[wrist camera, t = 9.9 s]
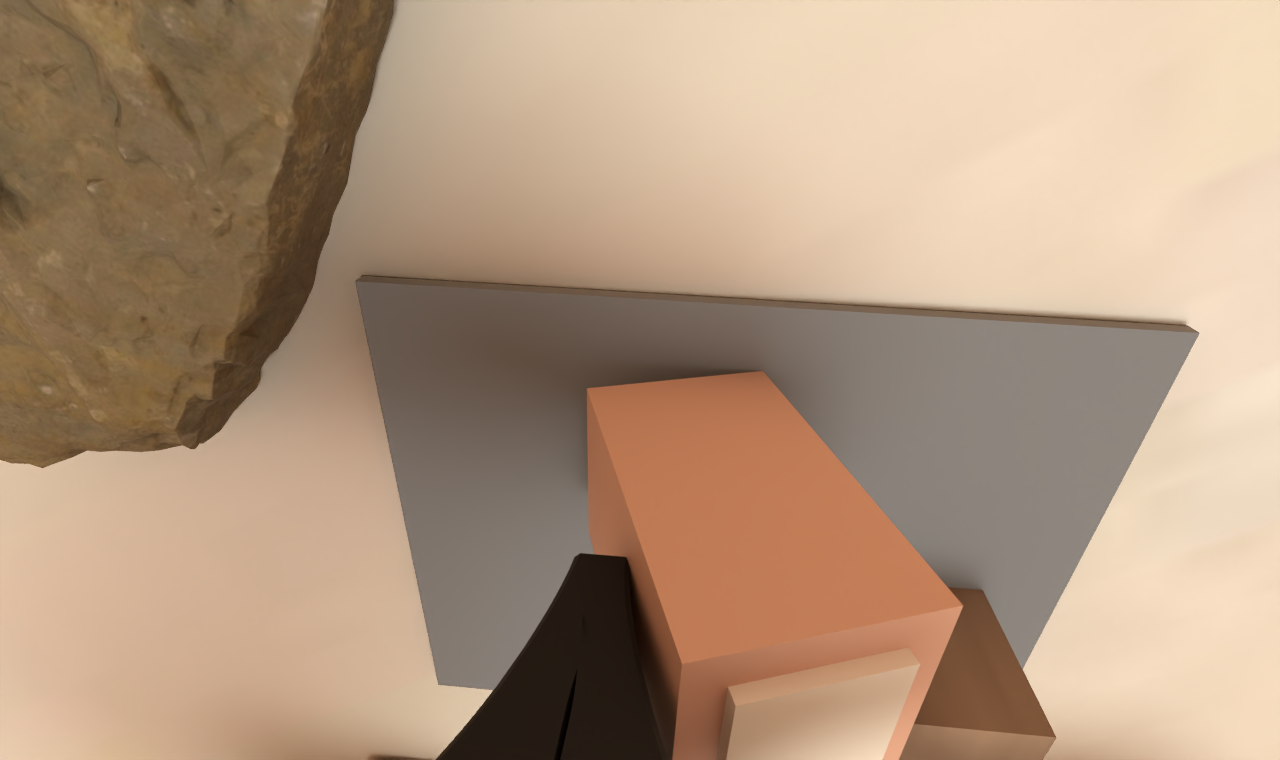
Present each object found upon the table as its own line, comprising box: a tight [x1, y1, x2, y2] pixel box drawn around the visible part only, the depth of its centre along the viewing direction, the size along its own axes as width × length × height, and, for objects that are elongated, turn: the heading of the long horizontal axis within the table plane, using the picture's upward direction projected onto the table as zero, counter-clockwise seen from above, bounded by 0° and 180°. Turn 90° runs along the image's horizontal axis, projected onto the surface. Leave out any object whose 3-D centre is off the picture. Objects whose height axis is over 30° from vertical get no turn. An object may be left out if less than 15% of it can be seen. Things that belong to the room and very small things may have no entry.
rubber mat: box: [355, 276, 1199, 690], centre depth 19 cm, size 16×20×1 cm
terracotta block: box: [587, 371, 963, 760], centre depth 13 cm, size 4×4×8 cm
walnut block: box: [899, 587, 1056, 760], centre depth 18 cm, size 4×4×8 cm
